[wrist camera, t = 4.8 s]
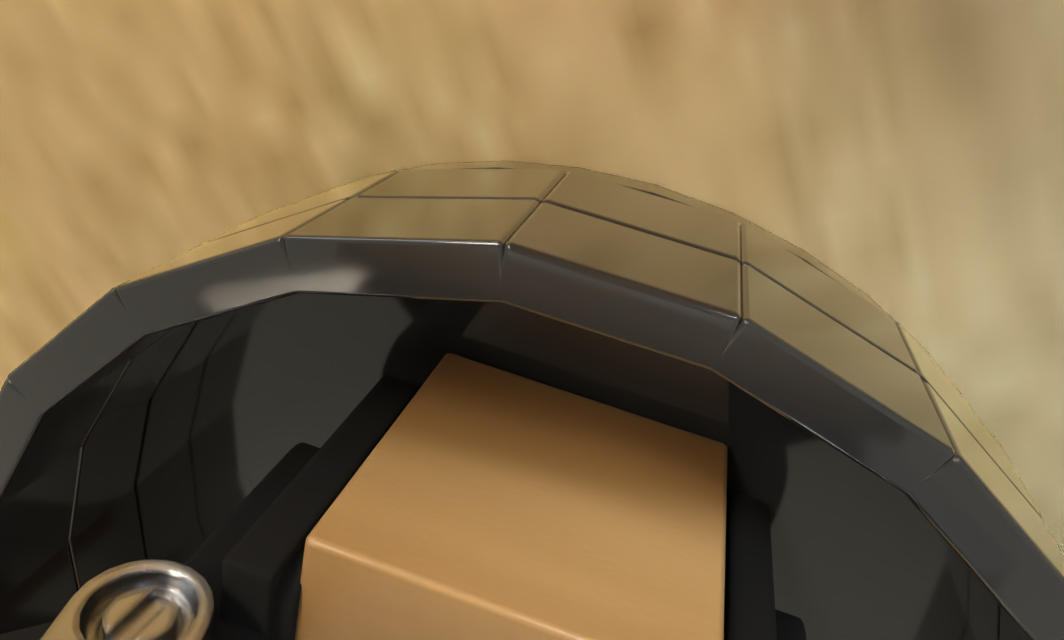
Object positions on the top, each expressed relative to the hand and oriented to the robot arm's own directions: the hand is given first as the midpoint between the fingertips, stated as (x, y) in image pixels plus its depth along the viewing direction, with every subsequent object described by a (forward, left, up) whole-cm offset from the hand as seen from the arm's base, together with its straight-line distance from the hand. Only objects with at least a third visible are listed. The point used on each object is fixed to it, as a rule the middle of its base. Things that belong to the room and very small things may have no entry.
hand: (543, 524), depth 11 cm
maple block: (0, 0, 0) cm, 0 cm away
